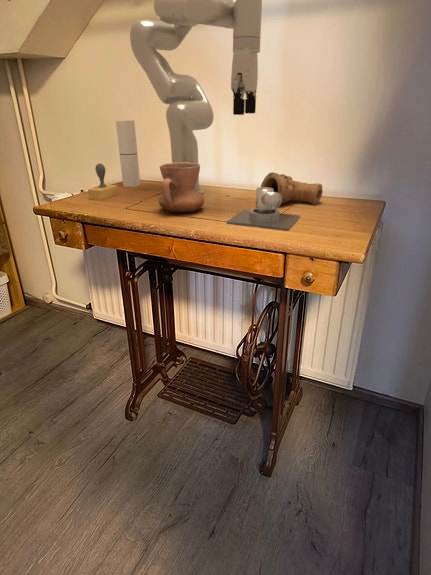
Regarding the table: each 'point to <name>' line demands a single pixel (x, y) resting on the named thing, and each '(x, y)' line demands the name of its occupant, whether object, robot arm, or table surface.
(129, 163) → the cylindrical container
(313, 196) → the clay pipe
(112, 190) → the rubber stamp
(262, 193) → the grey rounded piece
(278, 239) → the table surface
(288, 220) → the flange
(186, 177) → the ceramic jug
